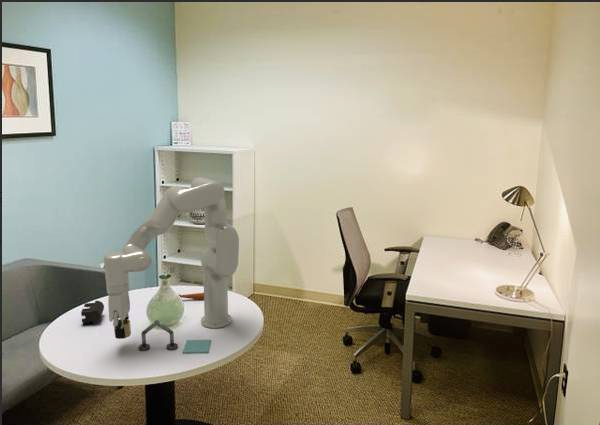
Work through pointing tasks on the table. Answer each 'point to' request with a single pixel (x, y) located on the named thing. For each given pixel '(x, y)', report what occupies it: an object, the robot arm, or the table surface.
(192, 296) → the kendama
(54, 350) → the table surface
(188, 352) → the mat
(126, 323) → the bronze ring
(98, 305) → the dark brown lumpy block
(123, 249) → the robot arm
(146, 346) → the pipe arch
